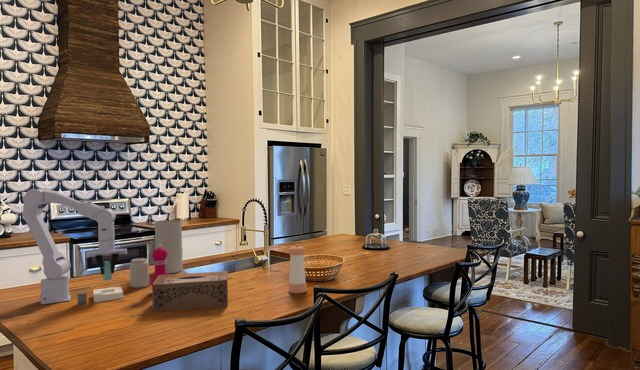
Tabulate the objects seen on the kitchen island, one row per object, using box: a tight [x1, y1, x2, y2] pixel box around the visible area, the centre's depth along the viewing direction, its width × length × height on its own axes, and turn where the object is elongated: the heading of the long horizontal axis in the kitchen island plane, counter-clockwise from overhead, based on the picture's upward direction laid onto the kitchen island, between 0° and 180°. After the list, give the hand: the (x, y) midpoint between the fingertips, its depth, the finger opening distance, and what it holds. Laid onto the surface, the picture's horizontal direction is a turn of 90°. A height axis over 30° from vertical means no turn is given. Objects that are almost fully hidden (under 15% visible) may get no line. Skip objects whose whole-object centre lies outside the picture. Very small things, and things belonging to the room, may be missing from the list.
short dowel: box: [76, 292, 88, 306], centre depth 160 cm, size 3×3×4 cm
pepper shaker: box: [287, 243, 307, 294], centre depth 175 cm, size 7×7×19 cm
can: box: [129, 257, 150, 289], centre depth 185 cm, size 8×8×12 cm
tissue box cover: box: [151, 270, 229, 313], centre depth 160 cm, size 26×14×10 cm, turn 102°
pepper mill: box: [150, 244, 169, 287], centre depth 174 cm, size 7×7×20 cm
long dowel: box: [103, 260, 113, 281], centre depth 169 cm, size 3×3×7 cm
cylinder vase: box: [154, 219, 184, 275], centre depth 213 cm, size 12×12×25 cm
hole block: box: [92, 286, 124, 303], centre depth 169 cm, size 10×10×2 cm
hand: (107, 273), depth 169 cm, fingers closed on long dowel, 3 cm apart
